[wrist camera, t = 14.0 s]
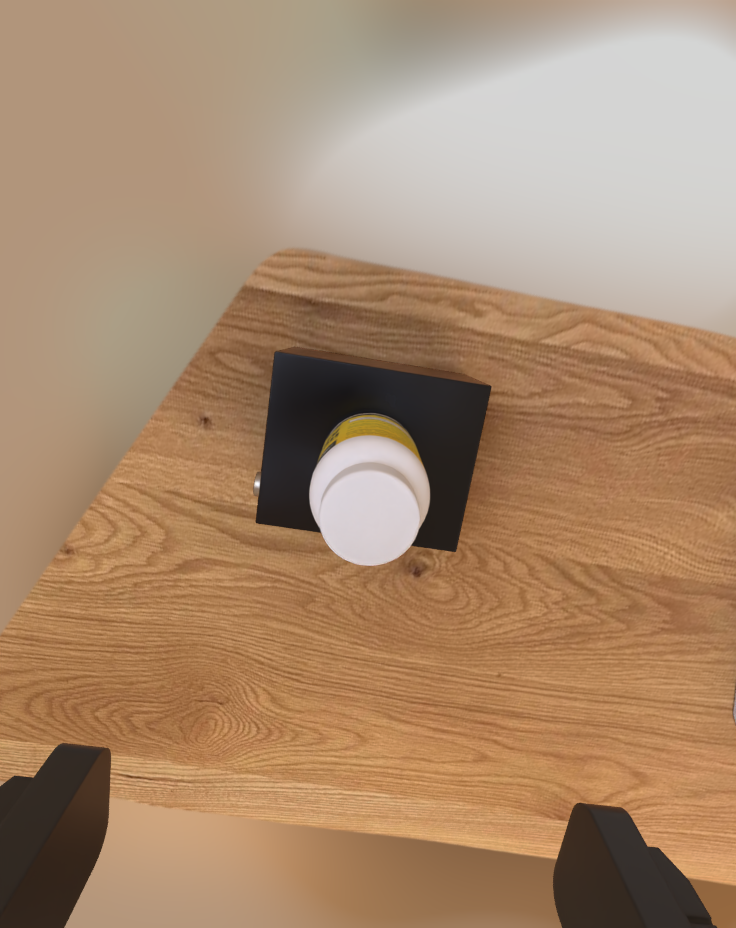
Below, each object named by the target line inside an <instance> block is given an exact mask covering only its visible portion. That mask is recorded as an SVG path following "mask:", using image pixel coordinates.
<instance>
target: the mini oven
mask: <svg viewBox="0 0 736 928" xmlns="http://www.w3.org/2000/svg"><path fill="white" fill-rule="evenodd" d="M490 392H491V386H490V385H488V384H486V383H483V382H481V381H479V380H477V379H474V378H472V377H470V376H467V375H465V374H461V373H455V372H449V371H443V370H436V369H430V368H424V367H418V366H412V365H405V364H399V363H393V362H387V361H381V360H374V359H368V358H362V357H356V356H350V355H343V354H337V353H331V352H325V351H319V350H312V349H306V348H300V347H291V348H287V349H283V350H279V351H276V352H275V354H274V363H273V371H272V380H271V389H270V397H269V406H268V415H267V424H266V433H265V442H264V451H263V460H262V469H261V472H257V474H256V477H255V481H254V487H253V494H254V496H258V505H257V514H256V523H258V524H265V525H272V526H279V527H286V528H293V529H300V530H307V531H313V532H320V533H321V530H320V528H319V526H318V524H317V523H316V521H315V519H314V516H313V514H312V511H311V507H310V499H309V490H310V483H311V479H312V475H313V472H314V469H315V467H316V464H317V462H318V459H319V456H320V454H321V451H322V448H323V445H324V442H325V440H326V439H327V437H328V435H329V434H330V433H331V431H332V430H333V429H334V428H335V427H336V426H337V425H338V424H339V423H340V422H342V421H343V420H345V419H347V418H349V417H351V416H354V415H358V414H363V413H376V414H381V415H385V416H387V417H390V418H392V419H394V420H395V421H397V422H398V423H400V424H401V425H402V426H403V427H404V428H405V429H406V430H407V431H408V433H409V434H410V436H411V437H412V439H413V441H414V443H415V445H416V448H417V451H418V453H419V456H420V458H421V461H422V463H423V466H424V468H425V471H426V474H427V477H428V481H429V487H430V503H429V508H428V512H427V515H426V517H425V520H424V521H423V523H422V525H421V527H420V528H419V530H418V533H417V536H416V538H415V540H414V542H413V543H412V545H411V546H417V547H424V548H431V549H438V550H445V551H452V552H456V549H457V545H458V540H459V535H460V531H461V526H462V521H463V517H464V512H465V508H466V503H467V498H468V494H469V489H470V484H471V480H472V475H473V470H474V466H475V461H476V457H477V452H478V447H479V443H480V438H481V433H482V429H483V424H484V419H485V415H486V410H487V406H488V401H489V396H490Z"/></svg>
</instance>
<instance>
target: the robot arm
mask: <svg viewBox="0 0 736 928" xmlns="http://www.w3.org/2000/svg"><path fill="white" fill-rule="evenodd" d="M110 768H111V753H110V749H109V748H103V747H94V746H85V745H76V744H67V743H62V744H60V745H58V746H57V747H56V748H55V749H54V751H53V752H52V753H51V755H50V756H49V757H48V759H47V760H46V761H45V763H44V764H43V766H42V767H41V768H40V770H39V771H38V772H37V774H36V775H35V777H34V778H31V777H22V776H14V777H12V778H11V779H9V780H8V781H7V782H5V783H4V784H3V785H1V786H0V928H64V927H65V925H66V923H67V921H68V919H69V917H70V915H71V913H72V911H73V908H74V907H75V905H76V903H77V900H78V899H79V897H80V894H81V892H82V890H83V889H84V886H85V884H86V882H87V880H88V878H89V876H90V874H91V872H92V870H93V868H94V866H95V864H96V861H97V859H98V857H99V854H100V852H101V849H102V846H103V842H104V839H105V835H106V830H107V825H108V818H109V793H110ZM553 889H554V899H555V905H556V908H557V913H558V916H559V919H560V922H561V925H562V928H717V927H716V926H713V924H712V922H711V917H710V915H709V913H708V912H707V910H706V908H705V907H704V905H703V903H702V902H701V900H700V898H699V897H698V895H697V893H696V891H695V890H694V888H693V887H692V885H691V883H690V881H689V880H688V879H687V878H686V877H685V876H684V875H683V874H682V873H681V871H680V870H679V869H678V868H677V867H676V866H675V865H674V864H673V863H672V862H671V861H670V860H669V859H668V858H667V857H666V855H665V854H664V853H663V852H662V851H661V850H660V849H659V848H656V847H647V845H646V843H645V841H644V839H643V838H642V836H641V834H640V832H639V831H638V829H637V827H636V825H635V823H634V822H633V820H632V818H631V817H630V815H629V814H628V813H627V811H625V810H624V809H623V808H621V807H612V806H603V805H594V804H585V803H577V804H576V805H575V806H574V808H573V810H572V813H571V816H570V819H569V822H568V826H567V829H566V832H565V835H564V839H563V842H562V845H561V849H560V852H559V855H558V858H557V862H556V865H555V869H554V876H553Z"/></svg>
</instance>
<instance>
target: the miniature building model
mask: <svg viewBox="0 0 736 928" xmlns="http://www.w3.org/2000/svg"><path fill="white" fill-rule="evenodd" d="M733 715H734V719H735V723H736V692H735V701H734V710H733Z"/></svg>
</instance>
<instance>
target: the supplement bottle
mask: <svg viewBox="0 0 736 928" xmlns="http://www.w3.org/2000/svg"><path fill="white" fill-rule="evenodd" d="M309 499H310V507H311V511H312V514H313V516H314V519H315V521H316V523H317V524H318V526H319V528H320V530H321V533H322V536H323V538H324V540H325V541H326V543H327V545H328V546H329V547H330V548H331V550H332V551H333V552H335V553H336V554H337V555H338V556H340V557H341V558H343V559H345V560H346V561H349V562H351V563H354V564H358V565H365V566H375V565H381V564H385V563H388V562H390V561H392V560H394V559H396V558H398V557H399V556H401V555H402V554H403V553H404V552H405V551H407V550H408V548H409V547H410V546H411V545H412V543H413V542H414V540H415V538H416V536H417V533H418V530H419V528H420V527H421V525H422V523H423V521H424V520H425V517H426V515H427V512H428V508H429V503H430V487H429V481H428V477H427V474H426V471H425V468H424V466H423V463H422V461H421V458H420V456H419V453H418V451H417V448H416V445H415V443H414V441H413V439H412V437H411V436H410V434H409V433H408V431H407V430H406V429H405V428H404V427H403V426H402V425H401V424H400V423H398V422H397V421H395V420H394V419H392V418H390V417H387V416H385V415H381V414H376V413H363V414H358V415H354V416H351V417H349V418H347V419H345V420H343V421H342V422H340V423H339V424H338V425H337V426H336V427H335V428H334V429H333V430H332V431H331V433H330V434H329V435H328V437H327V439H326V440H325V442H324V445H323V448H322V451H321V454H320V456H319V459H318V462H317V464H316V467H315V469H314V472H313V475H312V479H311V483H310V490H309Z"/></svg>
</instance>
